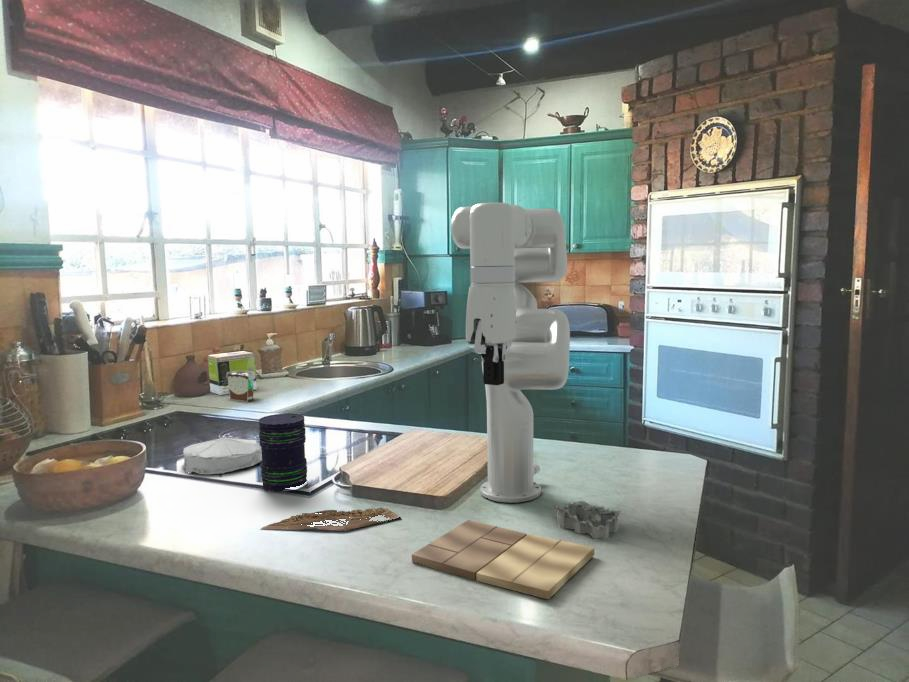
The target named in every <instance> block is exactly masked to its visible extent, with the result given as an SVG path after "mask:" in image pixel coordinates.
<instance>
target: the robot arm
mask: <svg viewBox="0 0 909 682" xmlns="http://www.w3.org/2000/svg"><path fill="white" fill-rule="evenodd" d="M563 219H564V218H563V216H562V215H561V213H560V212H559V211H558V210H557V209H555V208H550V207H549V208H524V207H523V206H522V205H521V206H520V205H515V204H509V203H506V202H496V201H495V202H494V201H493V202H481V203H477V204H474V205H472V206H460V207H458V208H457V209H456V210H455V211H454V213H453V215H452V217H451V221H450V233H451V237H452V240H453V242H454V244H455V245H456V246H457V248H459V249H463V250H464V249H465V250H467V249H469V258H470V260H469V261H470V262H469V263H470V267H469V268H470V269H469V271H470V285H469V288H468V294H467V300H466V312H465V313H466V314H465V341H466V343H467V344H468V345H473V352H474V353H475V354H478V355H479V354H480V357H481V358H480V359H481V369H482V370H481V371H482V375H483V384H484V389H485V398H486V435H487V438H486V440H487V441H486V445H487V447H486V448H487V449H486V451H487V481H485V482H484V483H482V484H481V485H480V495H481V496H483V497H484V498H485V499H487V498H488V500H490V501H494V502H497V503H498V502H499V503H510V504H513V503H524V502H529V501H532V500H535V499H537V498H538V497H540V496H541V494H542V487H541V485H540V484H539V483H537V482H535V481H534V476H535V475H536V474H538V473H540V471H541V468H540V465H538V464H534V411H533V407H532V405H531V403H530V401H529V399H528V398H527V397H526V396H525V394H524V393H523V392H522V391H521V390H546V391H547V390H549V391H550V390H558V389H561V388H563V387H564V386H565V384H566V383H567V382H568V381H567V380H568V378H569V372H570V371H569V370H570V369H569V367H570V343H571V342H570V341H571V329H570V322H569V318H568V316H567V314H565V312H563V310H560V309H557V308H555V309H554V308H538V302H537V299H536V298H535V296H534V294H533V293H532V292H531V291H530V290H529V289H528V288H527V287H525V286H524V285H523V284H522V283H555V282H559V281H561V280H562V279H564V278H565V276H566V275H567V271H568V253H567V238H566V228H565V223H564V220H563Z"/></svg>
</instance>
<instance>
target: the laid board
mask: <svg viewBox="0 0 909 682" xmlns="http://www.w3.org/2000/svg"><path fill="white" fill-rule="evenodd" d="M527 535H528V533H526V532H521V531H518V530H513V529H509V528H504V527H500V526H497V525H492V524H489V523H488V524H487V523H483V522H478V521H474V520H471V519H467V520H466V521H464V522H462V523H461V524H459V525H458V526H456V527H454V528H453V529H451V530H449V531H448V532H446V533H444V534H443V535H441V536H440V537H438V538H436V539H435V540H433V541H431V542H430V543H428V544H427V545H425V546H423V547H422V548H420V549H418V550H417V551H415V552H414V553H412V554H411V562H412V561H413V562H412V563H414V562H415V564H418V563H419V564H418V565H421V564H422V566H424V565H425V566H424V567H428V566H429V567H428V568H431V569H434V568H435V570H438V569H439V570H438V571H441V570H442V571H441V572H446V573H448V572H449V573H448V574H451V573H453V574H452V575H455V576H458V575H459V577H462V578H464V579H465V578H466V579H468V578H469V579H468V580H473V581H477V577H476V573H477V572H478V571H480V570H481V569H482V568H484V567H485V566H486V565H488V564H489V563H490V562H492V561H493V560H494V559H496V558H497V557H498V556H500V555H501V554H502V553H504V552H505V551H506V550H508V549H509V548H510V547H512V546H513V545H514V544H516V543H517V542H518V541H520V540H521V539H523V538H524V537H525V536H527Z"/></svg>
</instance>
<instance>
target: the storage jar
mask: <svg viewBox="0 0 909 682" xmlns="http://www.w3.org/2000/svg"><path fill="white" fill-rule="evenodd" d="M305 424H306V423H305V416H304V415H302V414H299V413H278V414H270V415H266V416H263V417H260V418H259V419H258V425H259V426H258V429H259V430H258V438H259V441H258V442H259V443H258V444H259V445H260V449H261V453H262V455H261V456H262V461H261V462H260V469H261V470H260V476H261V481H262V484H263V488H264V491H265V490H266V491H265V492H268V491H270V492H269V493H276V492H281V493H283V492H282V491H283V490H284V489H285V488H290V487H296V486H300V485H302V484H304V483H305V482H306V481H307V482H308V479H307V478H308V475H307V473H308V466H307V464H308V462H307V458H306V451H305V443H306V439H307V438H306V427H305V426H306V425H305ZM263 488H262V489H263Z"/></svg>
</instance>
